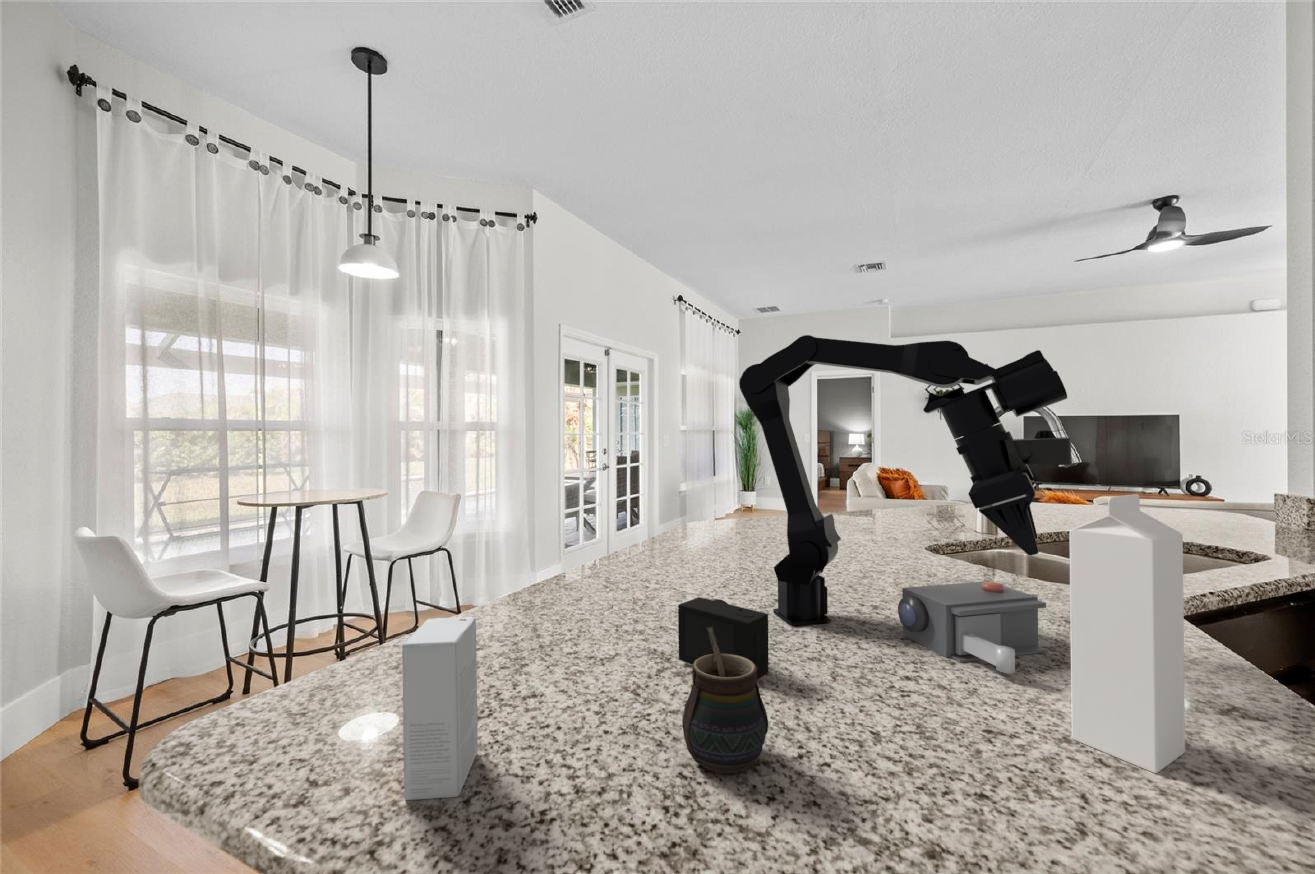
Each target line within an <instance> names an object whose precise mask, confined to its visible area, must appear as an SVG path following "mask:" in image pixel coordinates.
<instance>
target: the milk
mask: <svg viewBox="0 0 1315 874" xmlns="http://www.w3.org/2000/svg"><path fill="white" fill-rule="evenodd" d="M1140 500H1141V499H1140V495H1139V494H1137V493H1136V494H1126V495H1118V496H1111V497H1109V498H1108V501H1107V502H1108V503H1107V508H1108V509H1107V510H1108V511H1107V515H1105V516H1101V517H1100V518H1098V519H1095V520H1092V521H1090V522H1087V523H1085V524H1081V525H1079V526H1075V527H1074V528H1071V529H1070V530H1069V606H1070V607H1069V609H1070V611H1069V612H1070V614H1069V617H1070V620H1069V621H1070V622H1069V624H1070V627H1069V628H1070V694H1071V695H1070V703H1071V704H1070V706H1071V708H1070V709H1071V711H1070V714H1071V718H1070V719H1071V739H1072V740H1073V741H1076V742H1078V743H1081V744H1083V745H1085V746H1089V747H1091V748H1094V749H1095V750H1098V751H1100V752H1102V753H1105V754H1107V755H1110V756H1112V757H1115V758H1117V759H1120V760H1122V761H1125V763H1129V764H1131V765H1134V766H1137V767H1139V768H1141V769H1144V770H1146V771H1149V772H1151V773H1154V774H1158V773H1159V772H1160V771H1162V770H1163V769H1166V767H1167V766H1169V765H1170V764H1171V763H1173V762H1174V761H1175V760H1177V759H1178V758H1179V757H1181V756H1182V755H1183V754H1185V753H1186V723H1185V721H1186V719H1185V717H1186V715H1185V713H1186V712H1185V711H1186V710H1185V709H1186V708H1185V705H1186V704H1185V703H1186V702H1185V641H1184V639H1185V634H1184V633H1185V632H1184V631H1185V630H1184V629H1185V628H1184V625H1185V624H1184V623H1185V622H1184V621H1185V620H1184V555H1183V554H1184V551H1183V550H1184V548H1183V545H1184V544H1183V542H1184V539H1183V533H1181V532H1179V530H1176V529H1174V528H1173V527H1171V526H1169V525H1167V524H1165V523H1163V522H1162V521H1160V520H1158V519H1155V518H1154V517H1153V516H1151V515H1148V514H1147V513H1145V512H1143V511H1141V508H1140V506H1141V505H1140Z"/></svg>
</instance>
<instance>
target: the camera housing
mask: <svg viewBox="0 0 1315 874" xmlns="http://www.w3.org/2000/svg"><path fill="white" fill-rule="evenodd" d="M901 589H902V598H901V599H900V600H899V602H898V605H897V613H898V618H899V621H900V623H901V625H902V636H904V637H906V638H908V639H909V640H912V641H914V642H916V643H917V644H919V645H921V646H922V647H925V648H927V649H929V650H931V651H933V652H935V653H936V654H939V655H941V657H944V658H946V659H947V658H950V659H952V660H954V661H956V662H958V663H967V662H977V661H982V660H983V659H981V658H979V657H976V656H974V655H972V654H966V655H959V654H957V653H956V629H955V616H956V615H958V616H966V615H976V614H987V613H997V612H998V613H1000V623H1001V646H1007V647H1011V648H1013V649H1014V650H1015V657H1016V656H1026V655H1033V654H1041V653H1047V649H1046V648H1043V647H1041V646H1039V609H1046V608H1047V602H1044V601H1041V600H1038V599H1039V596H1037V595H1034V594H1030V593H1028V592H1023V591H1021V590H1017V589H1015V588H1010V587H1007V586H1004V584H1002V583H1000V582H995V581H987V580H984V581H983V580H982V581H970V582H960V583H946V584H945V583H944V584H933V585H923V586H922V585H921V586H911V587H910V586H908V587H902V588H901ZM983 661H984V660H983Z"/></svg>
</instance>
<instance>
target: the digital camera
mask: <svg viewBox="0 0 1315 874" xmlns="http://www.w3.org/2000/svg"><path fill="white" fill-rule="evenodd" d="M677 606H678V609H677V615H678V616H677V617H678V619H677V623H678V632H677V633H678V660H679V661H682V662H685V663H687V664H689V665H690V664H691V665H693V662H694V661H695V660H696V659H698V658H700V657H702V656H705V655H710V654H714V651H713V648H712V644H711V642H710V637H709V632H708V630H707V627H712V626H713V631H714V635H715V636H716V640H717V645H718V648H719V650H720V653H721V654H732V655H737V656H741V657H744V658H747V659H749V660H750V661H752V662H753V663H754V664H755V665H756V667H757V680H759V679H760V678H763V677H764V676H765V675H767V674H768V673H769V613H766V612H762V611H759V610H753V609H749V608H746V607H741V606H738V605H732V604H729V603H728V602H726V600H724V599H719V598H717V599H716V598H715V599H709V598H704V597H700V596H698V597H696V598H693V599H690V600H687V601H685V602H681V603H679V604H678V605H677Z"/></svg>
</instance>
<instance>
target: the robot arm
mask: <svg viewBox="0 0 1315 874" xmlns="http://www.w3.org/2000/svg"><path fill="white" fill-rule="evenodd" d="M815 365H822V366H831V367H836V368H837V367H838V368H839V367H840V368H845V369H846V368H847V369H853V370H855V369H856V370H864V371H871V372H877V373H878V372H880V373H888V374H894V375H897V376H900V377H904V378H906V379H909V380H913V381H916V382H919V383H923V384H926V385H930V386H932V387H935V388H941V389H951V388H955V387H956V386H957V385H959V384H965V385H975V386H979V385H981V384H984V383H986V382H990V381H992V382H991V383H988V384H985V385H983V386H980V387H978V388H976V389H973V390H970V391H968V392H965V390H964V389H963V387H962V386H960V387H957V388H955V389H952V390H949V391H948V392H946V393H945V392H944V393H943V394H940V395H937V394H936V393H934V392H929V393H928V398H927V402H926V404H925V405H924V407H923V409H922V410H923V412H924V413H926V414H930V413H934V412H937V411H940V412H941V414H942V417H943V418H944V421H945V423H946V426H947V427H948V429H949V431H950V433H951V435H952V437H953V439H954V442H955V444H956V446H957V447H956V451H957V453H958V455H959V456H962V459H963V461H964V463H965V464H966V467H967V469H968V472H969V473H970V475H971V476H970V480H971V482H972V486H971V488H970V490H969V492H968V496H969V498H970V501H971V503H972V504H973V507H974V509H978V512H979V513H980V514H982V515H983V516H984V517H985V518H986V519H988V520H989V522H991V524H993V525H994V526H996V527H997V528H998V529H999V530H1000V531H1001V532H1002V533H1004V535H1006V536H1007V537H1008V538H1009V539H1010V540H1011V542H1013V543H1014V544H1015V545H1017V546H1018V547H1019V548H1020V550H1022V552H1024V553H1025V554H1026V555H1027V556H1034V555H1037V554H1039V552H1040V551H1039V548H1038V544H1037V540H1038V533H1037V529H1036V526H1035V522H1034V516H1033V514H1032V509H1031V504H1032V502H1033V500H1034V499H1035V497H1036V491H1035V487H1034V485H1035V480H1032V479H1034V475H1033V473H1032V471H1031V469H1030V467H1029V465H1040V464H1041V465H1044V464H1045V465H1048V464H1050V465H1053V464H1055V465H1057V466H1071V465H1073V459H1072V458H1073V457H1072V441H1071V438H1070V437H1069V436H1067V437H1065V436H1061V437H1057V436H1056V435H1055V433H1054V432H1053V430H1051V429H1048V430H1046V429H1044V430H1037V431H1036V433H1035V435H1034V437H1033V438H1030V437H1029V438H1017V439H1016V438H1015V439H1014V437H1013V436H1012V434H1011V432H1010V430H1009V431H1007V429H1006V428H1005V427H1004V425H1003V423H1002V421H1001V420H1000V417H999V415H998V413H997V411H996V409H995V407H994V405H993V403H992V401H991V399H990V397H989V395H988V393H987V391H989V390H990V391H991V392H992V395H993V397H994V399H995V401H996V403H997V405H998V407H999V408H1000V410H1001V412H1002V413H1003V414H1005V413H1009V412H1012V413H1013V414H1014V416H1015V417H1016V418H1018V417H1021V416H1023V415H1026V414H1029V413H1031V412H1034V411H1037V410H1040V409H1043V408H1045V407H1049V406H1051V405H1055V404H1057V403H1060V402H1063V401H1065V400H1068V393H1067V390H1066V387H1065V385H1064V383H1063V381H1062V379H1061V376H1060V375H1059V373H1058V371H1057V370H1054V369H1053V367H1052V365H1051V364H1050V362H1049V361H1048V360H1047V358H1045V357H1044V355H1043V353H1042V351H1041V350H1039V349H1037V350H1035V351H1033V352H1029V353H1027V354H1026V355H1024V356H1023V357H1021V358H1019V359H1017V360H1014V361H1012V362H1009V363H1007V364H1005V365H1002V366H1000V367H997V368H995V367H992V366H990V365H989V364H988V363H984V362H981V361H979V360H977V359H974V358H972V357H970V355H969V353H968V351H967V349H966V348H965V347H964V346H963V345H962V344H960V343H959V342H956V341H952V340H937V341H936V340H934V341H921V342H914V343H907V344H887V343H886V344H885V343H876V342H875V343H874V342H864V341H855V340H845V339H836V338H835V339H834V338H827V337H826V338H825V337H816V336H813V335H811V334H810V335H809V334H807V335H802V336H799V337H798V338H797V339H795V340H794V341H793V342H792V343H790V344H789V345H787V346H785V347H784V348H783V349H781V350H779V351H777V352H775V353H774V354H772V355H770V356H768V357H767V358H765V359H764V360H763V361H762V362H760V363H756V364H752V365H750V366H748V367H746V369H745V370H744V371H743V372H742V374H741V377H740V378H739V382H738V384H739V385H738V386H739V390H740V392H741V395H742V396H743V398H744V400H745V403H746V404H747V406H748V407H749V408H748V409H750V411H751V412H752V414H753V415H754V417H755V418H756V420H757V421H758V423H759V424H760V426H761V430H762V431H763V434H764V438H765V442H766V445H767V449H768V452H769V456H770V458H771V462H772V466H773V469H774V471H775V476H776V478H777V481H778V485H779V488H780V492H781V495H782V499H783V502H784V505H785V508H786V513H787V523H786V524H787V526H786V539H787V546H788V554H787V555H786V556H784V558H782V559H781V560H780V561H779V562H778V563H777V564H776V565H774V567H773V570H774V573H775V576H776V579H777V608H773V612H772V613H774V614H775V615H776V616H778V617H779V618H780V619H782V620H784V621H785V623H788V624H789V625H790V626H802V625H809V624H810V625H812V624H820V623H822V624H823V623H829V622H830V623H831V622H832V617H830V616H828V612H829V611H828V609H829V607H828V606H829V605H828V597H829V596H828V594H829V593H828V587H827V586H826V578H825V577H823V576H822V575H820V574H822V573H823V572H824V570H825V567H827V566H828V565H829V564H830V563H832V561H833V560H835V558H836V556H837V555H838V552H839V544H838V542H840V541H841V540H842V538H841V537H840V536H839V534H838V532H837V530H836V526H835V518H834V515H833V514H832V513H830V514H828V515H825V516H824V514H823V513H822V512H821V510H820V509H819V508H818V506H817V504H816V501H815V497H814V495H813V492H812V488H811V484H810V482H809V481H810V480H809V478H808V475H807V472H806V470H805V467H804V463H803V460H802V456H801V452H800V449H799V446H798V443H797V439H796V437H795V434H794V430H793V427H792V423H791V420H790V405H791V401H790V391H789V387H791V386H792V385H794V384H795V383H796V382H798V380H800V378H802V377H803V376H804V374H805V373H807V372H808V371H809V370H810V369H811V368H812V367H814V366H815Z"/></svg>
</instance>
